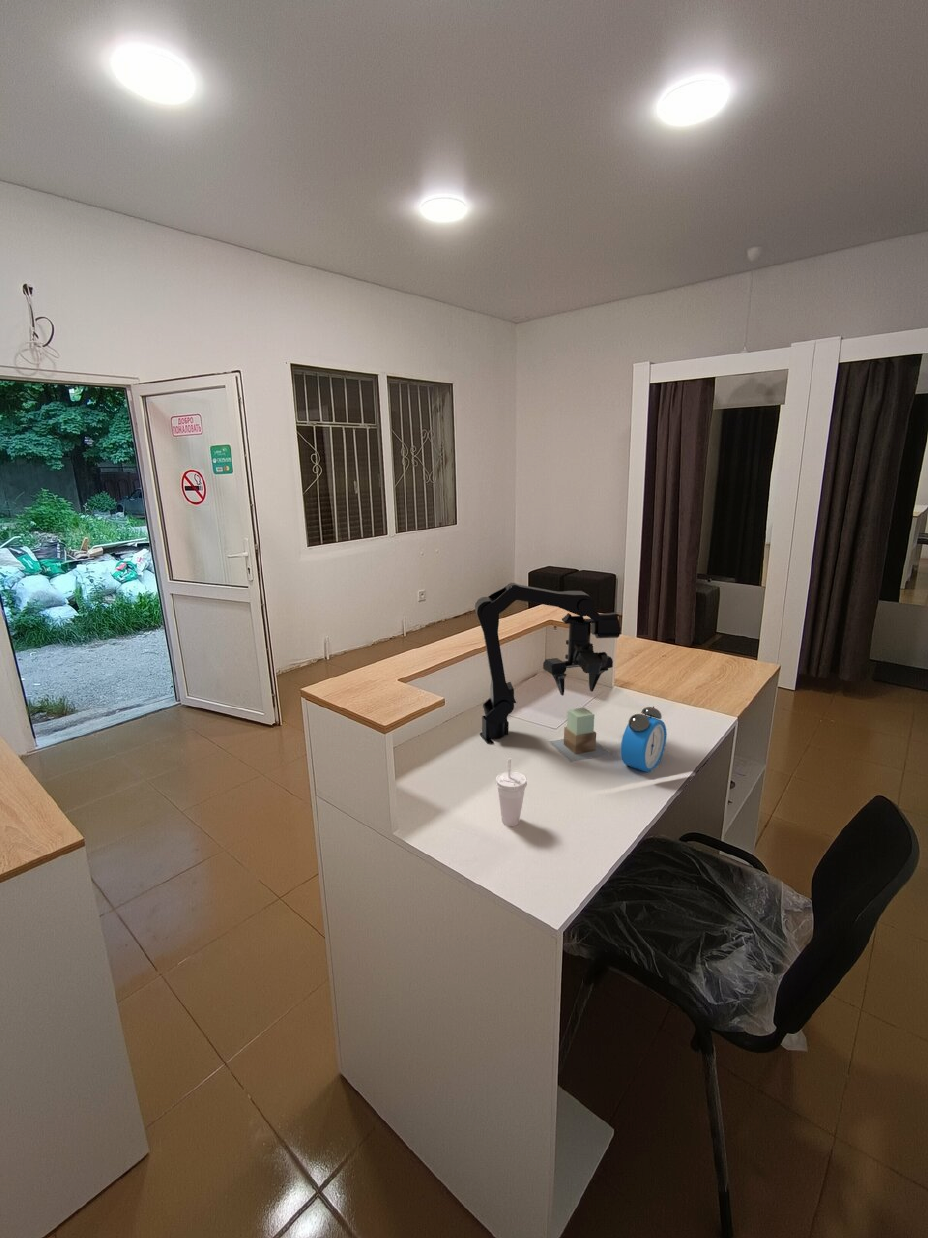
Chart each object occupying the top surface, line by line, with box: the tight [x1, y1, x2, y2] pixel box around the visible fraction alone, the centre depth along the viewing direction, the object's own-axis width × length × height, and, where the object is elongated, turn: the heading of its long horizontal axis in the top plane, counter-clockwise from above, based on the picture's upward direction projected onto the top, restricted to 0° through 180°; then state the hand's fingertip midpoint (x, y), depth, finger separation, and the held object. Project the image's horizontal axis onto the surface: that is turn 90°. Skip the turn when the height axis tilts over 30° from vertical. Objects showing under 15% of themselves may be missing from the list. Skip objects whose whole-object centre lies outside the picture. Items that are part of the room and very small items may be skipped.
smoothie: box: [495, 757, 528, 827], centre depth 116 cm, size 6×6×14 cm
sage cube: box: [566, 707, 595, 735], centre depth 147 cm, size 5×5×5 cm
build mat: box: [548, 738, 612, 762], centre depth 149 cm, size 12×12×1 cm
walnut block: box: [563, 726, 597, 754], centre depth 148 cm, size 6×6×5 cm
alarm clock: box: [620, 706, 668, 773], centre depth 138 cm, size 13×6×15 cm, turn 137°
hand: (576, 693), depth 155 cm, fingers open, 9 cm apart
